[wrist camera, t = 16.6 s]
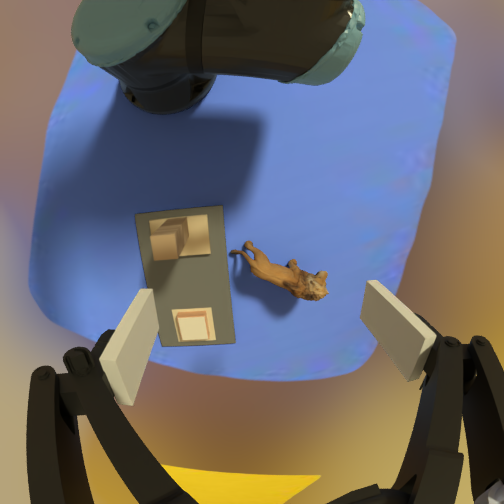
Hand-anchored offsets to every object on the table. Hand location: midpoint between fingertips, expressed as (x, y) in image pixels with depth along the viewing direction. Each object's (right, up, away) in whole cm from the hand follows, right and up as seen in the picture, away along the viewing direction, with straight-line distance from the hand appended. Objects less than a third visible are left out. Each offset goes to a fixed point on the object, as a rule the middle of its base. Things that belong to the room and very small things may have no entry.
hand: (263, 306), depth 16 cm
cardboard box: (-12, +6, +26) cm, 29 cm away
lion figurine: (+3, +2, +29) cm, 30 cm away
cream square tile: (-11, -9, +31) cm, 34 cm away
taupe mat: (-11, -2, +29) cm, 31 cm away
